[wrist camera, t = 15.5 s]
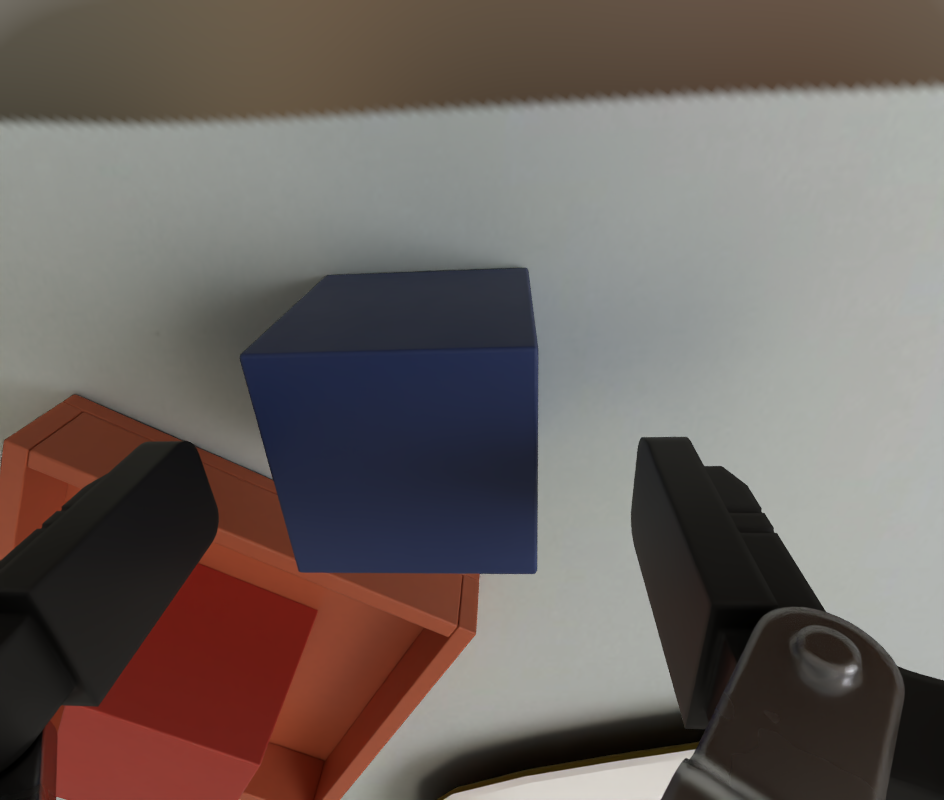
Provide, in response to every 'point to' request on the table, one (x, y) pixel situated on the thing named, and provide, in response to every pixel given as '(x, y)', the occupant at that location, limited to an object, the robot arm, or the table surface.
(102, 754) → the red block
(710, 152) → the table surface
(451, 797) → the plate
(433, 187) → the table surface
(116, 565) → the robot arm
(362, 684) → the terracotta tray
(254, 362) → the navy block
